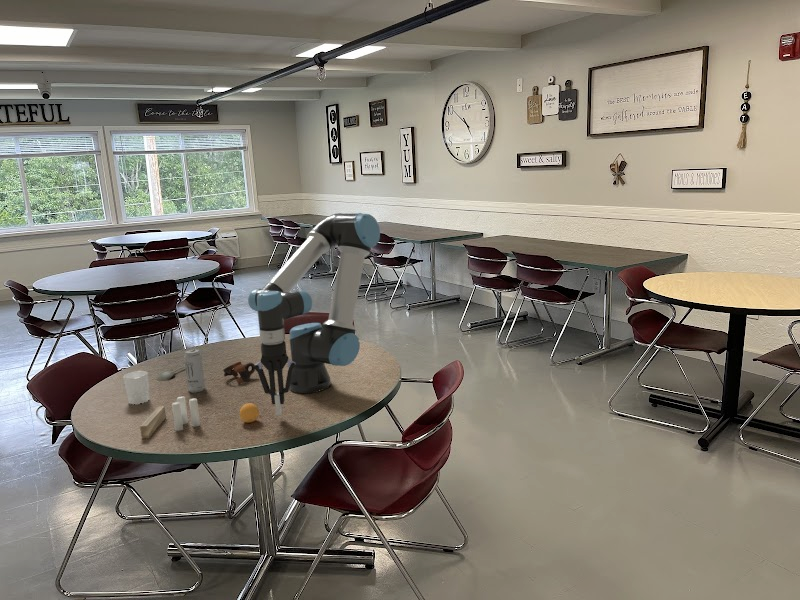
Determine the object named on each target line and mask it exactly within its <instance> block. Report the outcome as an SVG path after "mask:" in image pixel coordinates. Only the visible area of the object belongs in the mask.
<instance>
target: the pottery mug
mask: <svg viewBox="0 0 800 600" xmlns="http://www.w3.org/2000/svg"><path fill="white" fill-rule="evenodd" d="M254 366H255V363H253V362H247V363H246V364H243V363H242V362H241V361H237V362H235V363H232V364H231V365H228V366H226V367H225V368H224V369H223V377H225V378H226V377H228V376H233V377H234V378H236V382H237V384H238V385H241V384H243V383H245V382H249V381H250V380H251V376H252V374H254V373H255V372H256V370H255V369H254ZM250 367H251V370H249V369H250ZM238 376H239V377H238ZM237 377H238V378H237Z"/></svg>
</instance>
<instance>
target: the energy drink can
mask: <svg viewBox="0 0 800 600" xmlns="http://www.w3.org/2000/svg"><path fill="white" fill-rule="evenodd" d="M183 358H184V359H183V360H184V366H185V367H184V368H185V376H186V384H187V390H188V391H189V393H201V392H203V391H204V389H206V384H205V375H204V368H203V367H204V366H203V357H202V353H201V352H200V349H195V348H194V349H193V348H192V349H188V350H185V354H184V355H183Z"/></svg>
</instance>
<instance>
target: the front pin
mask: <svg viewBox="0 0 800 600" xmlns="http://www.w3.org/2000/svg"><path fill="white" fill-rule="evenodd" d="M188 404H189V413H190V421H191V426H192V427H193V428H194V427H199V426H200V425H201V420H200V413H199V404H198V399H197V398H195V397H194V398H189V400H188Z"/></svg>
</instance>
